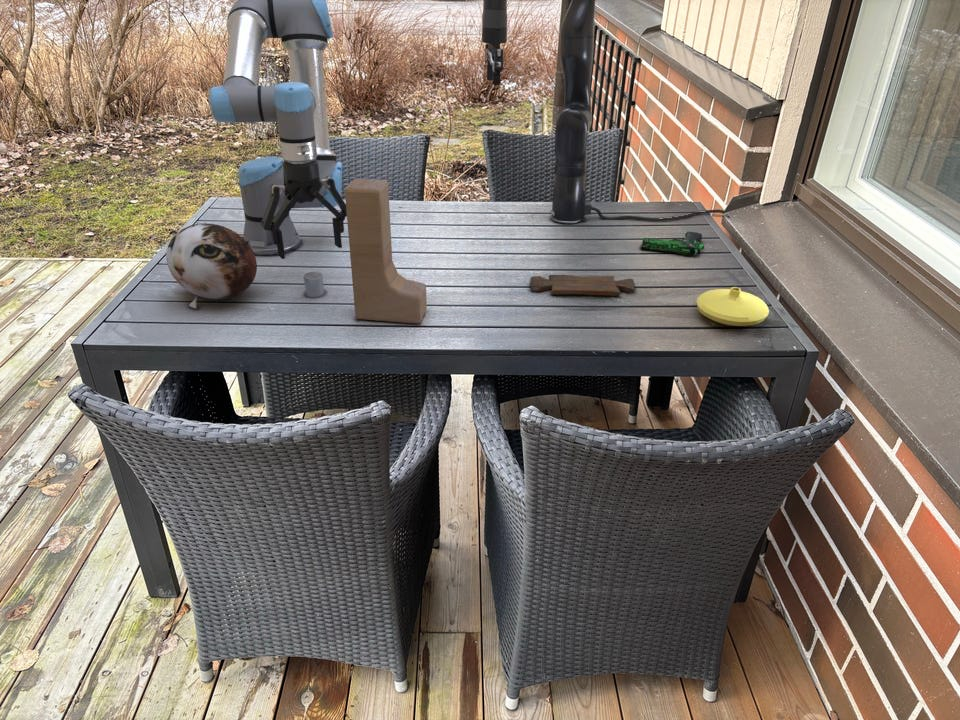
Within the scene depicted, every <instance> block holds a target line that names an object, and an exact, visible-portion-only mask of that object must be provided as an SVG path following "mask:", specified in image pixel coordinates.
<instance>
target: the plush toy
mask: <svg viewBox="0 0 960 720" xmlns="http://www.w3.org/2000/svg"><path fill="white" fill-rule="evenodd" d="M177 232H178V233H177V234H174V235H173V237H171V239H170V241H169V243H168V245H167V248H166V254H165V260H166V265H167V268H168V271H169V273H170V275H171V276H172V277H173V279H174V280H175V281H176V282H177V284H178V285H180V286H181V287H182V288H183V289H185V290H186V291H187V292H189V293H191V294H194V295H195V298H194V299H193V300H192V302H190V303H189V304H188V306H189V307H191V308H192V309H197V308H198V307H197V298H198V297H201V298H205V299H210V300H226V299H230V298H233V297H236V296H238V295H241V294H242V293H244V292H245V291H247V290H248V289H249V288H250V286H251V285H252V284H253V282H254V280H255V278H256V275H257V271H258V262H257V257H256V254H254V252H253V250H252V248H251V247H250V245H249V244H248V242H249V241H246V240H245V239H244V238H243V237H241V236H242V235H240V234H239V233H238V232H236V231H234V230H233V229H231V228H229V227H226V226H223V225H220V224H215V223H205V222H204V223H195V224H191V225H188V226H186V227H183V228H182V229H180V230H179V231H177Z"/></svg>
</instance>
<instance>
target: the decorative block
mask: <svg viewBox="0 0 960 720" xmlns="http://www.w3.org/2000/svg"><path fill="white" fill-rule="evenodd" d="M344 198H345V199H344V201H345V204H346V211H347V216H346V221H347V222H346V223H347V234H348V235H347V236H348V246H349V257H350V266H351V267H350V268H351V270H350V271H351V278H352V279H351V281H352V293H353V306H354V316H355V319H357V320H366V321H367V320H369V321H380V322H391V323H404V324H405V323H406V324H421V322H422V320H423V318H424V316H425V314H426V312H427V309H428V305H427V302H428V301H427V300H428V299H427V285H426V283H424V282H419V281H415V280H411V279H407V278H406V277H404V276H403V275H401V274H400V273H398V270H397V268H396V265H395V263H394V261H393V248H392V231H391V228H392V227H391V211H390V210H391V209H390V192H389V182H388V180H386V179H378V178H377V179H375V178H360V177H359V178H353V179H352V181H351V182H350V183H348V185H346V186H345V188H344Z"/></svg>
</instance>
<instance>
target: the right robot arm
mask: <svg viewBox="0 0 960 720" xmlns="http://www.w3.org/2000/svg"><path fill="white" fill-rule="evenodd" d="M482 6H483V7H482V15H481V42H482V43H483V44H485V45H484V48H485V49H484V64H485V67H486V80H487V81H492V85H493V86H501V73H502V72H503V71H504V49H503V48H501V44H506V43H507V40H508V0H482ZM595 13H596V0H571V2H570V3H569V5H568V8H567V11H566V13H565V15H564V18H563V20H562V22H561V26H560V29H559V61H560V67H561V72H562V76H563V77H562V78H563V83H564V95H563V105H562V111H561V112H560V113H559V115H558V116H557V119H556V122H555V129H554V130H555V131H554V134H555V135H554V157H555V158H554V173H553V174H554V175H553V176H554V177H553V189H552V204H551V209H550V219H551V221H553V222H555V223H557V224H558V223H559V224H564V225H574V224H578V223H581V222H585V216H589V215H591V214H592V211H593V212H596V213H597V215H598V217H599V218H600V219H602V220H609V221H612V220H615V221H616V220H617V221H618V220H637V221H638V220H639V221H648V222H662V221H663V222H664V221H665V222H666V221H672V220H678V219H683V218H688V217H691V216H694V215H704V214H715V213H716V214H717V213H718V214H723V215H724V216H727V215H726V214H724V212H725V211H726V210H724V209H707V210H704V211H706V212H695V211H694V212H695V213H691V212H690V213H691V214H688V215H684V216H678V215H677V216H678V217H674V216H675V215H672V216H671V217H672V218H666V217H667V216H666V217H665V216H664V217H665V218H664V217H662V218H663V219H659V218H660V217H648V216H647V217H646V216H638V215H619V216H606V215H603V214H602V211H601V210H600V209H599V208H597V207H595V206H592V204H591V203H590V202H589V201H588V200H587V189H585V187H586V186H585V185H586V177H587V176H586V175H587V163H588V154H587V153H588V152H587V148H588V147H587V145H588V135H589V130H591V129H590V128H591V127H592V123H593V115H592V114H593V113H592V99H591V97H592V96H591V82H592V81H591V80H592V73H593V63H594V61H593V60H594V49H595V48H594V47H595Z"/></svg>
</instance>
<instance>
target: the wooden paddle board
mask: <svg viewBox="0 0 960 720" xmlns="http://www.w3.org/2000/svg"><path fill="white" fill-rule="evenodd" d="M529 278H530V285H529V286H530V291H531V292H542V291H547V290H551V294H552V295H556V296H557V295H558V296H559V295H560V296H562V295H588V296H589V295H592V296H612V297H613V296H614V297H615V296H619V295H621V291H623V292H627V293H634V290H635V282H634V279H633V278H625V279H619V280H618V279H617V280H615V276H614V275H573V274H572V275H570V274H549V275H548V279H547V278H546V277H543V276H540V275H534V276H530V277H529Z"/></svg>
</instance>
